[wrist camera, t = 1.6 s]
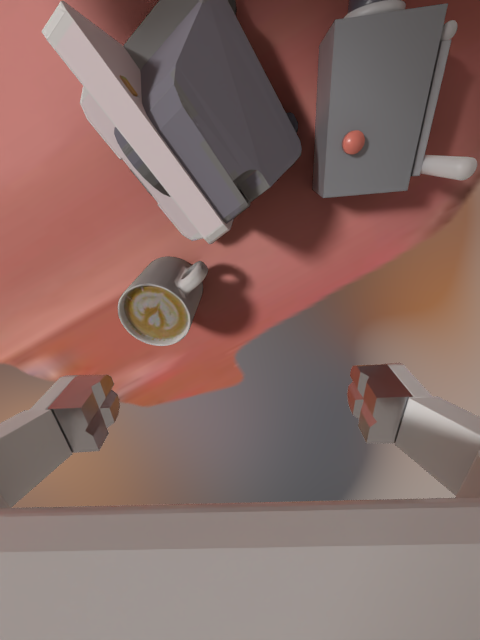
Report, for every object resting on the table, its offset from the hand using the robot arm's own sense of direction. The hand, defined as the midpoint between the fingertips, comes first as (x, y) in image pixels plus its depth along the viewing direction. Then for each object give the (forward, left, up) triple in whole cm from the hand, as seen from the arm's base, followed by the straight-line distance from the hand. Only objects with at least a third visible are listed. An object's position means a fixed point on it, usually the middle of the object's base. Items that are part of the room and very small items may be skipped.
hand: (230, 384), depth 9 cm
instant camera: (-9, -5, -34) cm, 36 cm away
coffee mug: (+11, -12, -34) cm, 38 cm away
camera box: (-8, +13, -34) cm, 37 cm away
